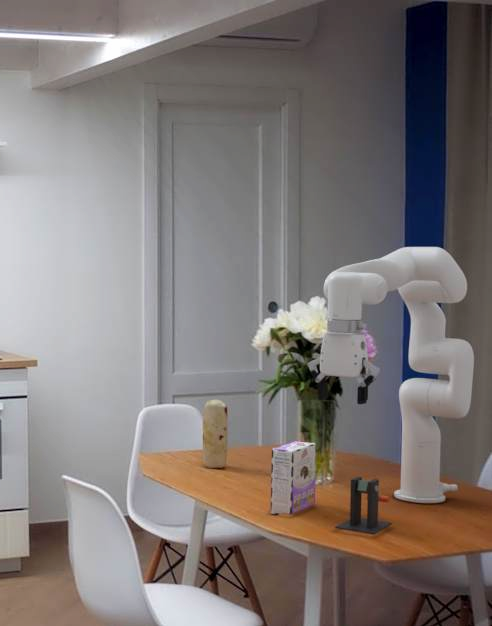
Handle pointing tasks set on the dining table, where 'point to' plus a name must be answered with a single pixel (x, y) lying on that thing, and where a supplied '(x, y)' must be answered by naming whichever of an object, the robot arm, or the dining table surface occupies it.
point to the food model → (215, 434)
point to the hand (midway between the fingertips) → (342, 401)
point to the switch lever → (364, 489)
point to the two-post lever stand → (371, 523)
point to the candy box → (293, 477)
